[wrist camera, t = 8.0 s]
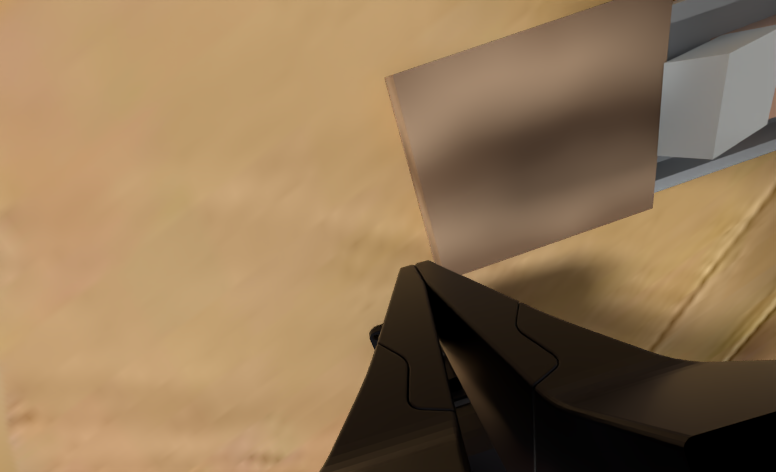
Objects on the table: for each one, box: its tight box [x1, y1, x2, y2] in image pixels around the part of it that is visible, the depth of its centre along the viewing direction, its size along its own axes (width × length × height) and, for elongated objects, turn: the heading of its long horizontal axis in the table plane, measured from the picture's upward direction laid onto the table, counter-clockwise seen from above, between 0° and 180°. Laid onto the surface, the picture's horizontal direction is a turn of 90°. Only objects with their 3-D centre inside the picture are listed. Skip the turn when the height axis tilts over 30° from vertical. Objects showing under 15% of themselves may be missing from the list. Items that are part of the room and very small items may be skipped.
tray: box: [654, 0, 776, 193], centre depth 18 cm, size 10×12×2 cm
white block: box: [657, 25, 776, 160], centre depth 17 cm, size 5×5×2 cm
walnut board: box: [385, 0, 673, 275], centre depth 18 cm, size 12×14×2 cm
